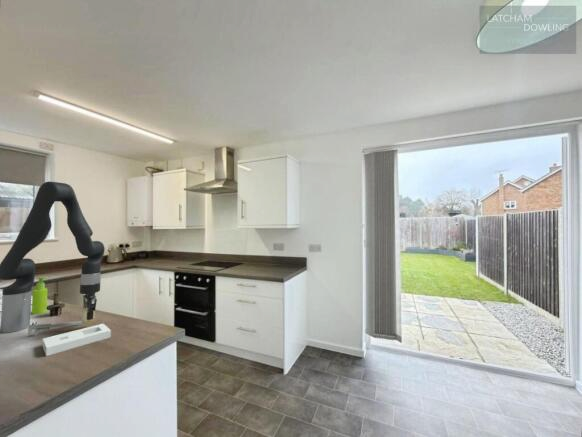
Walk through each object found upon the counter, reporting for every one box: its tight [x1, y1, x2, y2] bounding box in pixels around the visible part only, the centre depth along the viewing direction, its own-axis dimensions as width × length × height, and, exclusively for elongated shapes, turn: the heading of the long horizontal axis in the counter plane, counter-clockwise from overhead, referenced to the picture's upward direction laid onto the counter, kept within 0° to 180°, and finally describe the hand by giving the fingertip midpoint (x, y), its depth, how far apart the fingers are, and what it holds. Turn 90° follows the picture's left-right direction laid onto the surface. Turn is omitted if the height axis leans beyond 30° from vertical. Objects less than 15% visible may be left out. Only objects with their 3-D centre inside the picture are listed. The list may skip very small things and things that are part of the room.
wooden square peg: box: [81, 305, 97, 326], centre depth 114 cm, size 4×4×8 cm
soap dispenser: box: [31, 276, 50, 315], centre depth 136 cm, size 6×7×20 cm
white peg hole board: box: [41, 323, 112, 357], centre depth 101 cm, size 12×20×3 cm, turn 141°
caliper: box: [27, 320, 83, 338], centre depth 113 cm, size 20×1×6 cm, turn 143°
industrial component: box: [47, 292, 66, 317], centre depth 133 cm, size 9×7×12 cm
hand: (88, 318), depth 114 cm, fingers closed on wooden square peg, 4 cm apart
